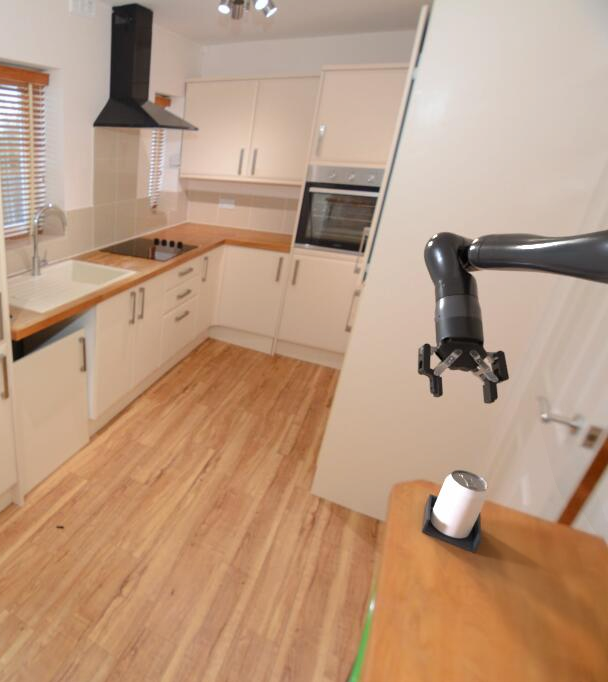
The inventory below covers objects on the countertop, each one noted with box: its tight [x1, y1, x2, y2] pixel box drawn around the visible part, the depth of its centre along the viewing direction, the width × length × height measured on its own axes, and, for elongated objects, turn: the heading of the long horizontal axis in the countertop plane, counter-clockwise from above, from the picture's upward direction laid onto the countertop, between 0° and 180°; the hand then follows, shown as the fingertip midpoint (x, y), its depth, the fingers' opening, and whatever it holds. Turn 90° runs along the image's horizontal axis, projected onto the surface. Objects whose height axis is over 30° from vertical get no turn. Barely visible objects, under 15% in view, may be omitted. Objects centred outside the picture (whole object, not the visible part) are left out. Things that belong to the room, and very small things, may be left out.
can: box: [430, 469, 489, 538], centre depth 88 cm, size 6×6×12 cm
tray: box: [421, 493, 482, 554], centre depth 91 cm, size 10×8×4 cm
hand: (463, 399), depth 87 cm, fingers open, 8 cm apart
